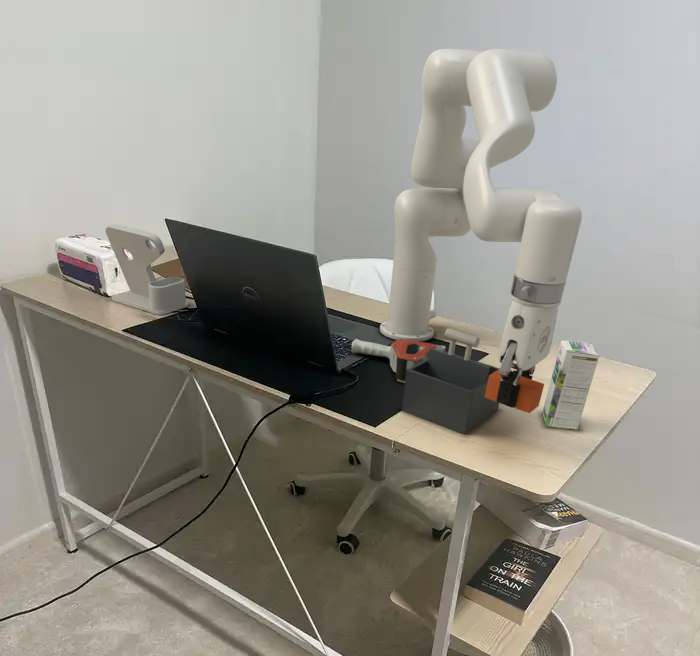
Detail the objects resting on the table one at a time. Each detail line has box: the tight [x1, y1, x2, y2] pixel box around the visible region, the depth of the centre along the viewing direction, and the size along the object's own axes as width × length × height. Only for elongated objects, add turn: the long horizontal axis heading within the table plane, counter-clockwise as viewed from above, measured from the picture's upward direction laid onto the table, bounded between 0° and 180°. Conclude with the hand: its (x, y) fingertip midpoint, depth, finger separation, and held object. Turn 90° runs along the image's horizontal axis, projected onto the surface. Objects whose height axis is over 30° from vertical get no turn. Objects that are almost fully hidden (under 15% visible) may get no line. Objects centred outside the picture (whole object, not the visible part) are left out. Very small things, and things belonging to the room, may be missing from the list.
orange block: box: [485, 369, 545, 414], centre depth 107 cm, size 4×8×4 cm, turn 53°
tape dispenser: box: [351, 338, 447, 384], centre depth 136 cm, size 18×5×20 cm
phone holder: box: [105, 223, 189, 316], centre depth 156 cm, size 17×10×18 cm, turn 59°
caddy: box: [401, 327, 500, 435], centre depth 117 cm, size 13×13×15 cm
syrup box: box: [541, 340, 600, 430], centre depth 117 cm, size 6×6×14 cm
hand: (512, 398), depth 108 cm, fingers closed on orange block, 3 cm apart
